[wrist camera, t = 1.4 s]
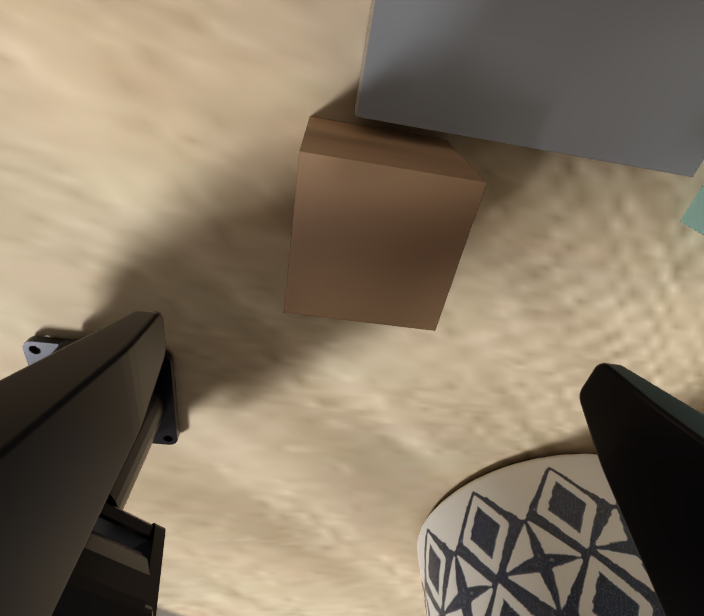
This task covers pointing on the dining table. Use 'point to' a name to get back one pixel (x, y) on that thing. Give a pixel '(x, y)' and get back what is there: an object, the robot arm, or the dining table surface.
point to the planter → (534, 546)
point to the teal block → (695, 213)
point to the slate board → (544, 75)
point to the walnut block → (377, 224)
